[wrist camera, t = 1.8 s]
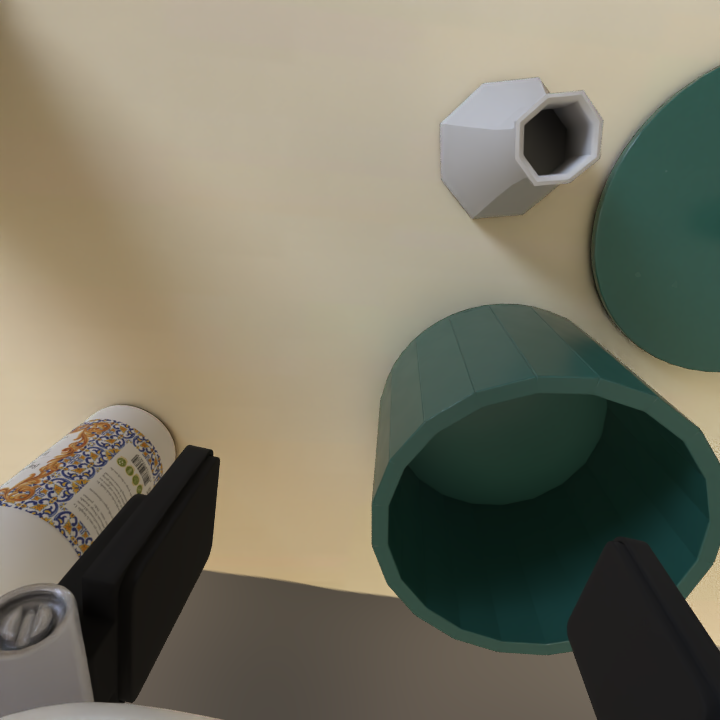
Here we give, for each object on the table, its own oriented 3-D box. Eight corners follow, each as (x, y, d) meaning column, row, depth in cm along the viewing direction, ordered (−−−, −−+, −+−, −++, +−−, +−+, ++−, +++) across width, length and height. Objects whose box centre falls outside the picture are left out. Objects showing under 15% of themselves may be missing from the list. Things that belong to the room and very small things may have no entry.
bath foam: (132, 384, 34) (-197, 644, 15) (197, 455, 35) (-26, 766, 17) (69, 431, 36) (-293, 712, 17) (133, 496, 37) (-131, 815, 19)
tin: (350, 343, 31) (325, 430, 21) (596, 271, 28) (714, 329, 18) (416, 527, 36) (422, 674, 26) (630, 482, 33) (738, 626, 23)
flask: (584, 188, 27) (683, 195, 17) (461, 239, 28) (491, 270, 19) (550, 51, 25) (641, -24, 15) (418, 114, 26) (428, 81, 17)
